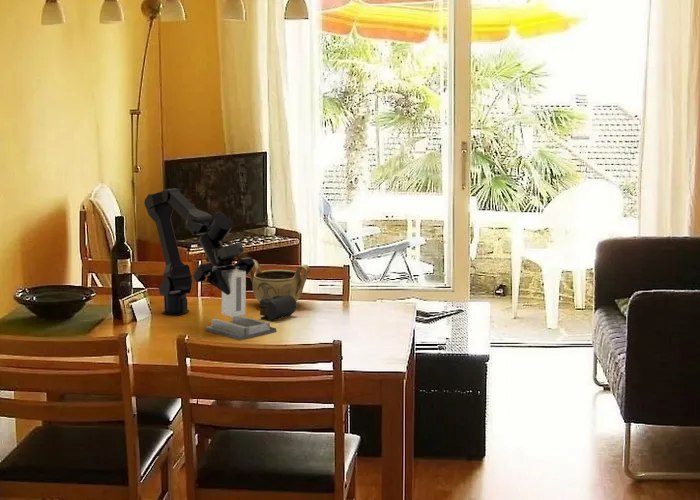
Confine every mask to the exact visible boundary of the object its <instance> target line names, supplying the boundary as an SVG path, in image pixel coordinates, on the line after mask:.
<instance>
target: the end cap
mask: <svg viewBox="0 0 700 500" xmlns="http://www.w3.org/2000/svg"><path fill="white" fill-rule="evenodd" d="M259 306H260V307H263V308H266V310H264V309H259V315H260V316H261V317H260V321H262V320H263V321H265V322H266V321H267V322H273V321H276V320H279V319H284V318H286V317H290V316H291V315H293V314H294V313H295V312H296V311H297V301H295V299H294V298H293V297H292V296H290V295H287V296H274V297H273V299H266V298H265V299H262V300H260V302H259Z"/></svg>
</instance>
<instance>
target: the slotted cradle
mask: <svg viewBox="0 0 700 500" xmlns="http://www.w3.org/2000/svg"><path fill="white" fill-rule="evenodd" d="M270 324H271V323H270V322H268V321H267V322H266V321H264V320H263V321H262V320H259V319H256V318H252V317H251V318H250V317H247V316H245V315H240V316H235V317H232V321H225V320H221V319H217V318H212V319H211V325H208V326H205V328H204V330H205V331H206V332H209V333H210V332H211V333H213V334H216V335H220V336H224V337H227V338H231V339H234V340H237V341H243V340H246V339H251V338H255V337H260V336H264V335H268V334H272V333H276V332H277V328H276V327H272V326H271V325H270Z"/></svg>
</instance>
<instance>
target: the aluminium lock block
mask: <svg viewBox="0 0 700 500" xmlns="http://www.w3.org/2000/svg"><path fill="white" fill-rule="evenodd" d="M222 277H223V279H224V281H225V283H226V285H227V287H228V290H229V295H227V294H225V293H224V292H222V291H221V315H224V316H227V317H231V318H233V317H235V316H246V300H247V299H246V293H247V291H246V287H247V285H246V284H247V281H246V280H247V279H246V278H247V277H246V271H243V270H239V269H229V270H222Z"/></svg>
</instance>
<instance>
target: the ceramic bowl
mask: <svg viewBox="0 0 700 500" xmlns="http://www.w3.org/2000/svg"><path fill="white" fill-rule="evenodd" d="M253 261H254V263H255V265H254V266H253V267H254V270H253V268H252V269H251V270H250V272H249V273H248V274H247V275H248V277H249V280H250V282H251V283H252V291H253V295H254V297H255V299H256V300H257V302H258V303H260V300H262V299H265V298H266V299H273V297H274V296H287V295H290V296H292V297H293V298H294V299H295V301H296V302H297V301H299V300H300V298H301V297H302V295H303V294H302V293H303V291H304V288H305V287H304V286H305V284H306V281H307V278H308V277H309V274H310V270H311V268H310V266H309V265H308V264H303V265H301V266H299V267H298V268H297V269H296V270H289V269H268V270H261V267H260V264H259V262H258V261H257V260H256V259H253ZM302 269H303V270H304V274H302Z"/></svg>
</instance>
